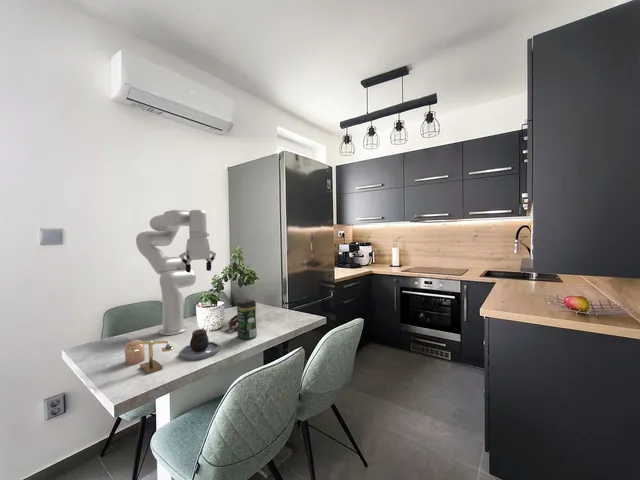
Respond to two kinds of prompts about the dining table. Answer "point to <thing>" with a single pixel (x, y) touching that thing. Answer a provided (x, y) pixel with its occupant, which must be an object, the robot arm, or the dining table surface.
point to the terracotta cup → (134, 357)
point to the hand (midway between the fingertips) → (198, 271)
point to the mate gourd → (199, 340)
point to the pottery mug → (233, 322)
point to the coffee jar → (246, 318)
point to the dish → (192, 355)
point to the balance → (150, 356)
